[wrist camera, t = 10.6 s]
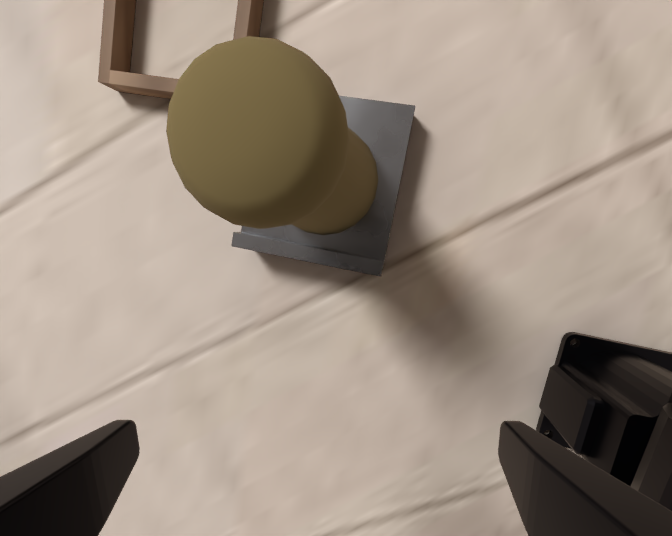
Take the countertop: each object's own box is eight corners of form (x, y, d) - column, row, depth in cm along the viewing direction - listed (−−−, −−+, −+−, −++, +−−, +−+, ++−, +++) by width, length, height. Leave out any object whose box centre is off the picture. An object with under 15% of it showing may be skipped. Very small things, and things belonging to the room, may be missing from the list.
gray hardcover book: (413, 114, 20) (416, 98, 17) (382, 270, 21) (380, 276, 18) (270, 95, 21) (254, 77, 18) (249, 244, 22) (231, 246, 20)
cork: (394, 142, 19) (393, 26, 8) (357, 249, 20) (310, 278, 9) (289, 110, 19) (155, -38, 8) (258, 215, 20) (104, 202, 9)
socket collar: (271, -55, 20) (261, -78, 18) (249, 110, 21) (237, 101, 20) (130, -65, 21) (110, -87, 20) (117, 91, 22) (98, 81, 21)
